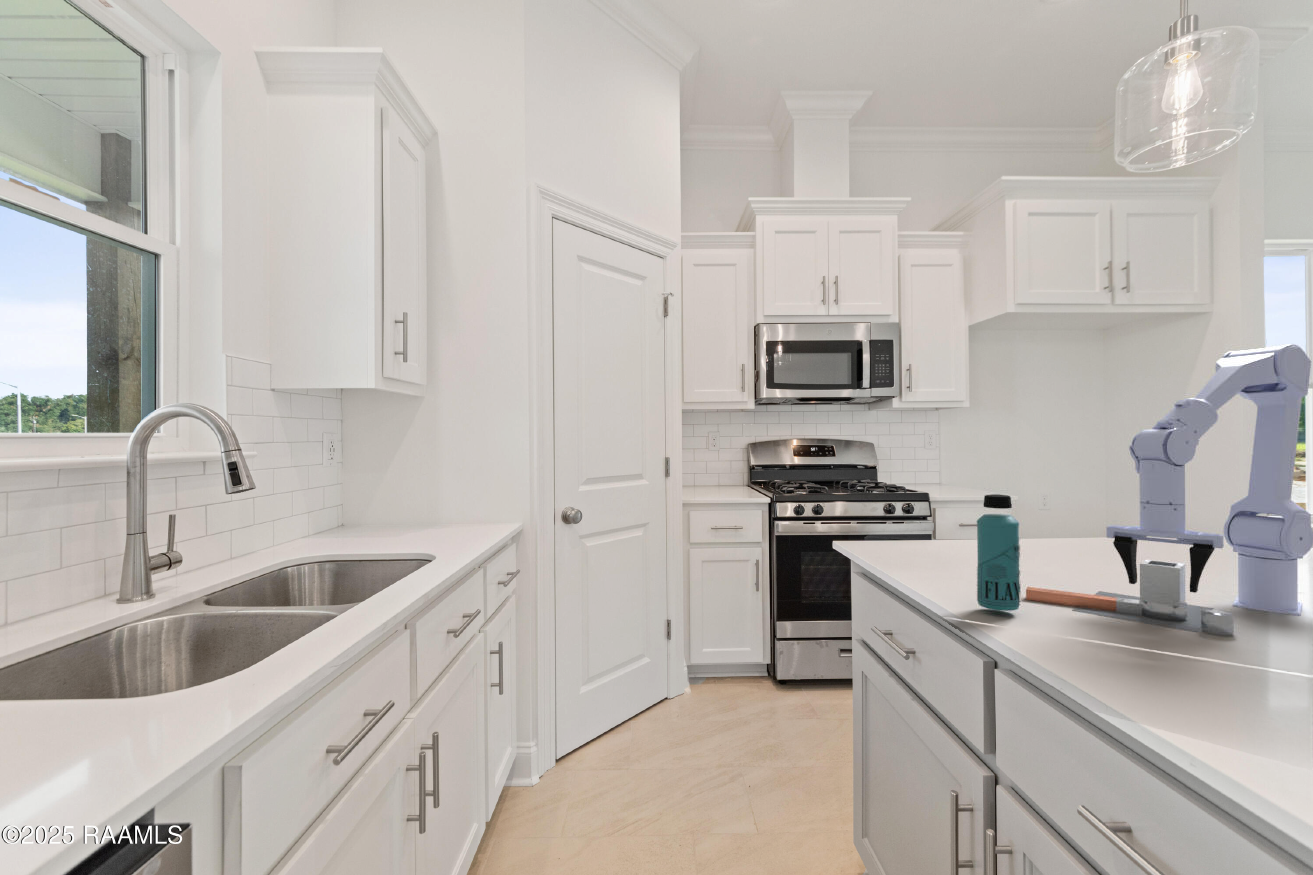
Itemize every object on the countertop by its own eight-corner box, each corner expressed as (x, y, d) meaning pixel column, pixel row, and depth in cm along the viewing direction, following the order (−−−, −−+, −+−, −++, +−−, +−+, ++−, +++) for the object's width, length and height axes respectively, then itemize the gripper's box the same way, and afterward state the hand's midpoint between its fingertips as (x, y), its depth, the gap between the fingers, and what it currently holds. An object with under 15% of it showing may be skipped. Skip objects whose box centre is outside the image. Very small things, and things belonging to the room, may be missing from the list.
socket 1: (1146, 594, 104) (1146, 559, 104) (1185, 600, 100) (1185, 563, 100) (1139, 600, 100) (1139, 563, 100) (1180, 606, 97) (1179, 568, 97)
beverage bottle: (978, 617, 101) (977, 495, 101) (974, 607, 107) (973, 492, 107) (1024, 622, 99) (1023, 497, 99) (1017, 610, 105) (1016, 493, 105)
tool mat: (1099, 592, 116) (1099, 590, 116) (1213, 609, 104) (1213, 608, 104) (1071, 612, 104) (1071, 610, 104) (1197, 634, 92) (1197, 632, 92)
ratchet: (1185, 614, 101) (1185, 587, 101) (1188, 623, 96) (1188, 594, 96) (1029, 594, 114) (1029, 570, 114) (1024, 601, 109) (1024, 576, 109)
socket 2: (1203, 629, 95) (1202, 608, 94) (1235, 634, 92) (1235, 613, 92) (1199, 634, 92) (1199, 613, 92) (1232, 640, 89) (1232, 618, 89)
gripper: (1101, 501, 103) (1102, 583, 103) (1219, 508, 92) (1219, 600, 92) (1112, 498, 107) (1112, 576, 108) (1224, 504, 97) (1225, 591, 97)
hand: (1162, 586), depth 100 cm, fingers open, 7 cm apart
